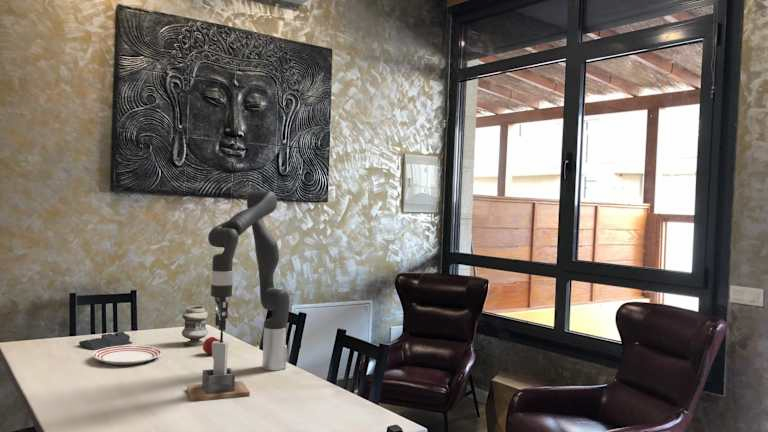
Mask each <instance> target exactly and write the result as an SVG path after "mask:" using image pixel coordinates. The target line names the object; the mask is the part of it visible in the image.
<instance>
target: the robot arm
mask: <svg viewBox="0 0 768 432" xmlns="http://www.w3.org/2000/svg"><path fill="white" fill-rule="evenodd" d="M277 205H278V198H277V195H276V194H275V192H274V191H272V190H271V191H270V190H254V191H250V192H248V194H247V197H246V207H247V208H246V209H243V210H241V211H239V212H237V213H235V215H233V216H232V217H230V218H229V219H228V220H227V221H225V222H222V223H220V224H218V225H216V226H214V227H213V228H212V229H210V232H209V233H208V235H207V240H208V243H209V244H210V246H212V247H215V248H224V249H223V251H222V253H217V254H214V255H213V256H212V266H211V267H212V268H211V270H212V271H211V275H210V278H211V280H210V297H212V298H214V309H213V313H214V315H215V317H214V319H215V320H214V321H215V322H214V323H215V324H214V325H215V326H216V327H218V330H219V331H220V332H221V330H223V331H226V326H227V325H226V324H227V320H228V318H229V317H228V316H229V315H228V312H229V311H228V310H229V306H228V305H229V302H228V301H227V298H230V297H232V296H233V282H234V280H233V279H234V275H233V263H234V262H233V260H234V256H235V252H236V249H237V247H238V244H239V237H240V236H241V235H242V234H244V233H245V231H247V230H248V229H249V228H250V227H251V229H252V233H253V240H254V241H253V242H254V249H255V256H256V262H257V268H258V277H259V294H260V295H259V296H260V299H259V300H260V304H261V306H262V308H263V309H264V310H267V311H272V316H271V317H270V318H267V319H265V320H264V321H263V339H262V341H263V342H262V344H263V345H262V363H261V364H262V369H264V370H266V371H281V370H285V369H287V352H288V351H287V344H286V339H287V323H288V319H289V311H290V295H289V292H288V291H287V290H284V289H278V288H275V284H274V283H275V282H274V274H275V272H276V269H277V266H278V264H279V260H280V252H279V246H278V241H277V239H276V238H275V236H274V235H273V234H272V233H271V232H270V230H269V228H268V227H267V226H266V224H265V222H264V219H263V218H265V217H267V216H268V215H270V214H272V213H273V212H275V210H276V209H277Z"/></svg>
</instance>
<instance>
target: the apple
mask: <svg viewBox="0 0 768 432" xmlns="http://www.w3.org/2000/svg"><path fill="white" fill-rule="evenodd" d="M214 341H220V339H218V338H216V337H214V336H210V337H208V338H206V339H205V340H204V341H203V342H204V344H203V346H202V350H203V351H204V353H206V354H208V355H210V356H212V343H213V342H214Z"/></svg>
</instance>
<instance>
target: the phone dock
mask: <svg viewBox="0 0 768 432" xmlns="http://www.w3.org/2000/svg"><path fill="white" fill-rule="evenodd" d="M235 380H236V374H235V372H234V371H233V370H232V368H231V367H227V374H224V375H213V368H210V369H203V370H202V379H201V384H199V383H198V384H190V385H189V384H187V385H186V391H187V393H188V395H189V399H190V401H191V402H200V401H201V402H202V401H209V400H221V399H233V398H234V399H235V398H243V397H250V395H251V394H250V393H251V392H250V390H249V389H248V386H246V384H245V383H244V382H243V381H242V380H237V381H235Z"/></svg>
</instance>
